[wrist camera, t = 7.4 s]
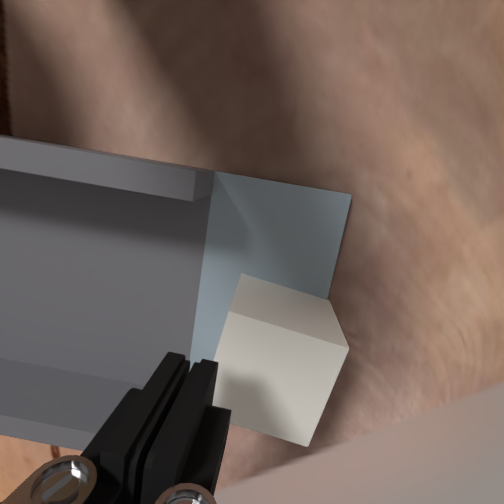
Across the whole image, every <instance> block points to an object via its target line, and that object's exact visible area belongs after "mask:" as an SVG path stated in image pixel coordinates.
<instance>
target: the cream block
mask: <svg viewBox="0 0 504 504" xmlns="http://www.w3.org/2000/svg"><path fill="white" fill-rule="evenodd" d="M348 351H349V346H348V344H347V341H346V339H345V337H344V334H343V332H342V329H341V327H340V325H339V322H338V320H337V317H336V315H335V313H334V310H333V308H332V305H331V303H330V301H329V300H326V299H323V298H320V297H316V296H313V295H310V294H307V293H304V292H300V291H297V290H294V289H291V288H287V287H284V286H281V285H278V284H274V283H271V282H268V281H265V280H262V279H258V278H255V277H252V276H249V275H245V274H242V273H241V276H240V279H239V282H238V285H237V288H236V291H235V294H234V297H233V300H232V302H231V305H230V308H229V311H228V315H227V318H226V321H225V324H224V328H223V331H222V334H221V337H220V341H219V344H218V347H217V351H216V354H215V357H214V360H213V361H216V362H218V363H219V364H218V372H217V378H216V384H215V391H214V397H213V403H212V406H217V407H221V408H226V409H230V410H232V411H231V418H230V423H231V424H234V425H238V426H241V427H244V428H247V429H251V430H254V431H257V432H260V433H264V434H267V435H270V436H273V437H277V438H280V439H283V440H286V441H290V442H293V443H296V444H299V445H303V446H306V447H308V446H309V443H310V441H311V438H312V436H313V434H314V431H315V429H316V427H317V424H318V422H319V419H320V417H321V415H322V412H323V410H324V408H325V405H326V403H327V400H328V398H329V396H330V393H331V391H332V389H333V386H334V384H335V382H336V379H337V377H338V374H339V372H340V370H341V367H342V365H343V363H344V360H345V358H346V355H347V353H348Z"/></svg>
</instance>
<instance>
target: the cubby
mask: <svg viewBox="0 0 504 504" xmlns="http://www.w3.org/2000/svg"><path fill="white" fill-rule="evenodd" d="M351 198H352V194H347V193H341V192H335V191H329V190H324V189H318V188H312V187H306V186H300V185H294V184H289V183H283V182H277V181H271V180H265V179H259V178H254V177H248V176H242V175H236V174H230V173H224V172H219V171H213V170H207V169H201V168H195V167H189V166H184V165H178V164H172V163H166V162H160V161H154V160H149V159H143V158H137V157H131V156H125V155H119V154H113V153H108V152H102V151H96V150H90V149H84V148H78V147H73V146H67V145H61V144H55V143H49V142H43V141H38V140H32V139H26V138H20V137H14V136H8V135H3V134H0V435H5V436H10V437H15V438H20V439H25V440H30V441H35V442H40V443H45V444H50V445H55V446H60V447H65V448H70V449H75V450H80V451H84V450H85V448H86V447H87V446H88V444H89V443H90V442H91V440H92V439H93V438H94V436H95V435H96V434H97V432H98V431H99V430H100V428H101V427H102V426H103V424H104V423H105V421H106V420H107V419H108V417H109V416H110V415H111V413H112V412H113V411H114V409H115V408H116V407H117V405H118V404H119V403H120V401H121V400H122V399H123V397H124V396H125V395H126V393H127V392H128V391H129V390H130V389H131V388H137V389H143V388H144V386H145V385H146V383H147V382H148V380H149V379H150V377H151V376H152V374H153V373H154V372H155V370H156V369H157V367H158V366H159V364H160V363H161V361H162V360H163V358H164V357H165V355H166V354H167V353H168V352H174V353H179V354H183V355H185V356H186V360H189V361H190V370H191V368H192V366H193V364H194V362H198V363H200V361H201V360H202V359H206V360H211V361H213V360H214V357H215V354H216V351H217V347H218V344H219V341H220V337H221V334H222V331H223V328H224V324H225V321H226V318H227V315H228V311H229V308H230V305H231V302H232V300H233V297H234V294H235V291H236V288H237V285H238V282H239V279H240V276H241V273H242V274H245V275H249V276H252V277H255V278H258V279H262V280H265V281H268V282H271V283H274V284H278V285H281V286H284V287H287V288H291V289H294V290H297V291H300V292H304V293H307V294H310V295H313V296H316V297H320V298H323V299H326V300H327V299H328V294H329V290H330V286H331V282H332V277H333V273H334V269H335V265H336V261H337V256H338V252H339V248H340V244H341V240H342V235H343V231H344V227H345V223H346V219H347V214H348V210H349V206H350V202H351ZM189 372H190V371H189Z"/></svg>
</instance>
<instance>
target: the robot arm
mask: <svg viewBox="0 0 504 504" xmlns="http://www.w3.org/2000/svg"><path fill="white" fill-rule="evenodd" d="M218 364H219V363H218V362H216V361H211V360H206V359H202V360H201V361H200V363H198V362H194V364H193V366H192V368H191V370H190V361H189V360H186V356H185V355H183V354H179V353H174V352H168V353H167V354H166V355H165V357H164V358H163V360H162V361H161V363H160V364H159V366H158V367H157V369H156V370H155V372H154V373H153V374H152V376H151V377H150V379H149V380H148V382H147V383H146V385H145V386H144V388H143V389H137V388H131V389H130V390H129V391H128V392H127V393H126V395H125V396H124V397H123V399H122V400H121V401H120V403H119V404H118V405H117V407H116V408H115V409H114V411H113V412H112V413H111V415H110V416H109V417H108V419H107V420H106V421H105V423H104V424H103V426H102V427H101V428H100V430H99V431H98V432H97V434H96V435H95V436H94V438H93V439H92V440H91V442H90V443H89V444H88V446H87V447H86V448H85V450H84V451H83V453H82V454H81V455H80V456H78V455H67V456H63V457H59V458H55V459H53V460H51V461H49V462H47V463H45V464H44V465H42V466H41V467H40V468H38V469H37V470H36V471H34V472H33V473H32V474H31V475H30V476H29V477H28V478H27V479H26V480H25V481H24V482H23V483H22V484H21V485H20V486H19V487H18V488H17V489H15V490H14V491H13V492H12V493H11V494H10V495H9V496H8V497H7V498H6V499H5V500H4V501H3V502H1V503H0V504H216V501H215V499H214V497H213V496H214V492H215V487H216V483H217V479H218V475H219V471H220V467H221V462H222V458H223V454H224V449H225V445H226V440H227V435H228V429H229V424H230V418H231V411H232V410H230V409H226V408H221V407H217V406H212V403H213V397H214V391H215V384H216V378H217V372H218ZM189 371H190V372H189Z"/></svg>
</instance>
